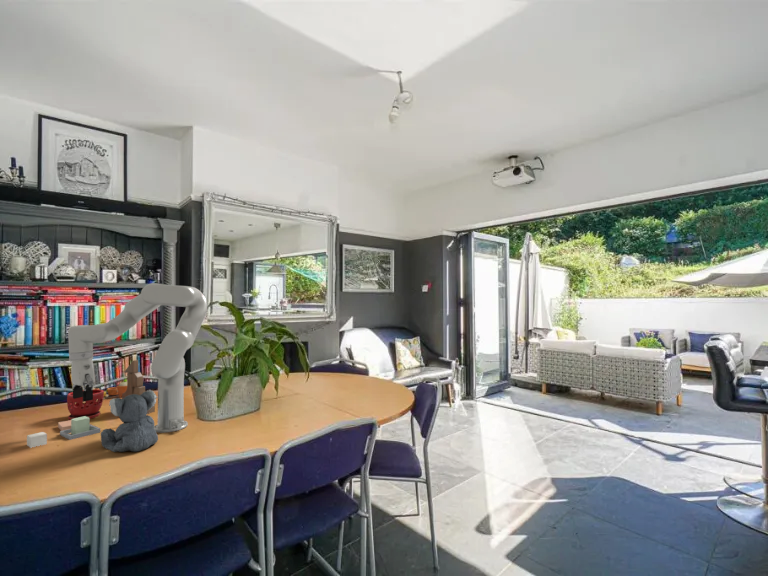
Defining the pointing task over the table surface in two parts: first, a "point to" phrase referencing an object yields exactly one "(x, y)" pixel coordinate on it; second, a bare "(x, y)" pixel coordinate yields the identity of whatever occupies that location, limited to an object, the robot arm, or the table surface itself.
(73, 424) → the sage block
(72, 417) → the plant pot
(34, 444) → the cream cube
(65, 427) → the terracotta brick
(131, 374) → the wooden toy
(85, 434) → the grey tray
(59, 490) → the table surface
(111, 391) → the toy tea set
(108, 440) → the koala plush
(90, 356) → the robot arm
